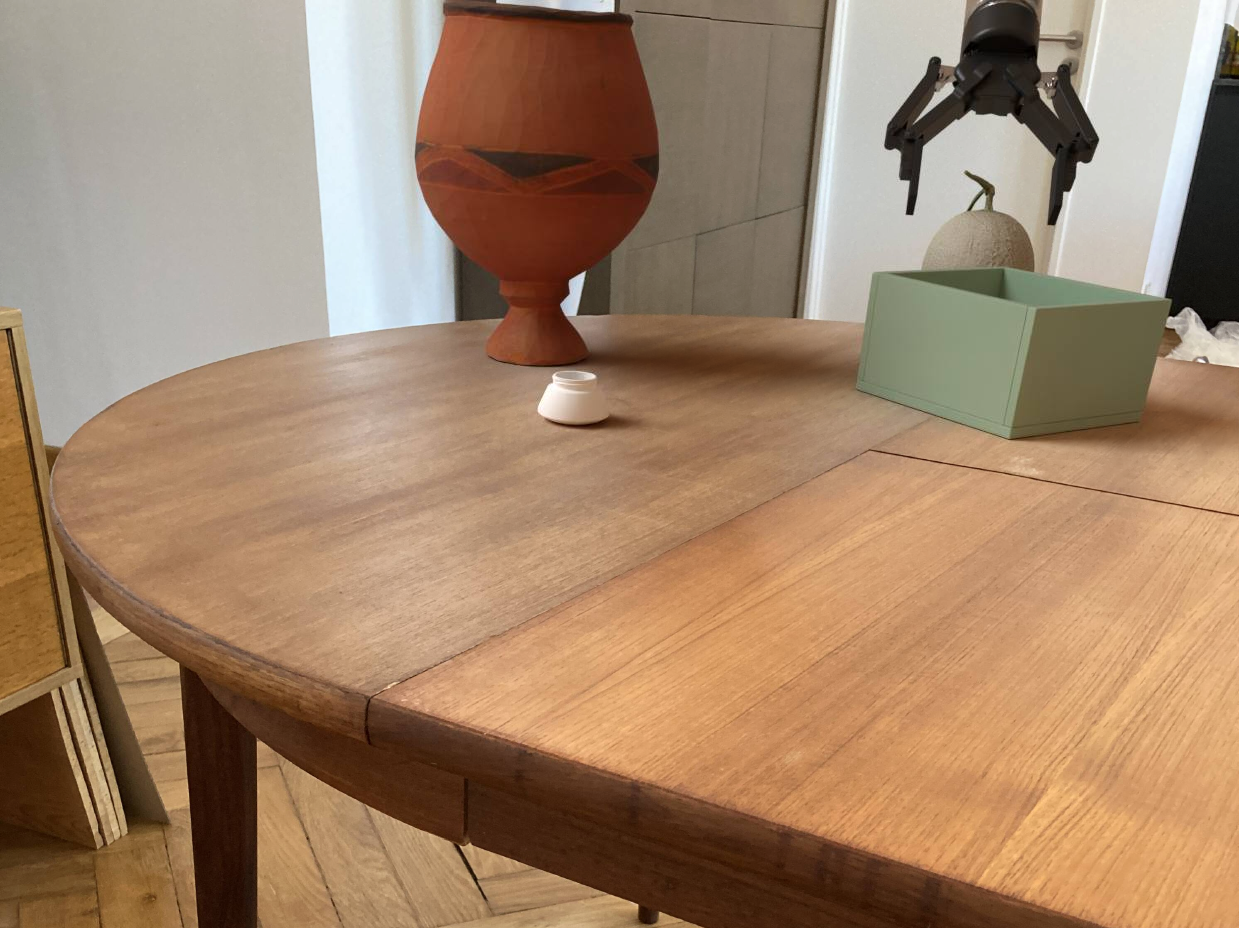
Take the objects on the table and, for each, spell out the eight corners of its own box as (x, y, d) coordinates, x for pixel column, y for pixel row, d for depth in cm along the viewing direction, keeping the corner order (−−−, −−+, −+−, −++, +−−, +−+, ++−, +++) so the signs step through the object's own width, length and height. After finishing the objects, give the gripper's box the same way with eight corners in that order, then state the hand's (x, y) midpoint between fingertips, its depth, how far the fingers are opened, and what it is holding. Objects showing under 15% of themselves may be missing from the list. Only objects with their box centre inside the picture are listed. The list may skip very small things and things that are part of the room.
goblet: (395, 370, 99) (379, -8, 86) (450, 327, 115) (444, 4, 102) (635, 388, 98) (656, 6, 84) (656, 342, 114) (676, 16, 101)
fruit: (995, 330, 129) (1027, 166, 121) (1035, 352, 119) (1072, 176, 111) (896, 326, 128) (922, 160, 120) (928, 348, 118) (958, 170, 110)
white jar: (577, 407, 91) (523, 415, 88) (578, 365, 90) (524, 372, 87) (623, 421, 88) (569, 431, 85) (625, 378, 87) (570, 386, 84)
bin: (1140, 421, 97) (1172, 299, 92) (1009, 439, 90) (1036, 308, 85) (982, 376, 108) (1003, 266, 104) (855, 389, 101) (872, 271, 97)
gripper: (1117, 69, 128) (1103, 247, 123) (871, 54, 131) (849, 228, 126) (1141, 4, 120) (1127, 191, 116) (880, -9, 123) (856, 172, 119)
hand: (982, 210), depth 121 cm, fingers open, 13 cm apart
